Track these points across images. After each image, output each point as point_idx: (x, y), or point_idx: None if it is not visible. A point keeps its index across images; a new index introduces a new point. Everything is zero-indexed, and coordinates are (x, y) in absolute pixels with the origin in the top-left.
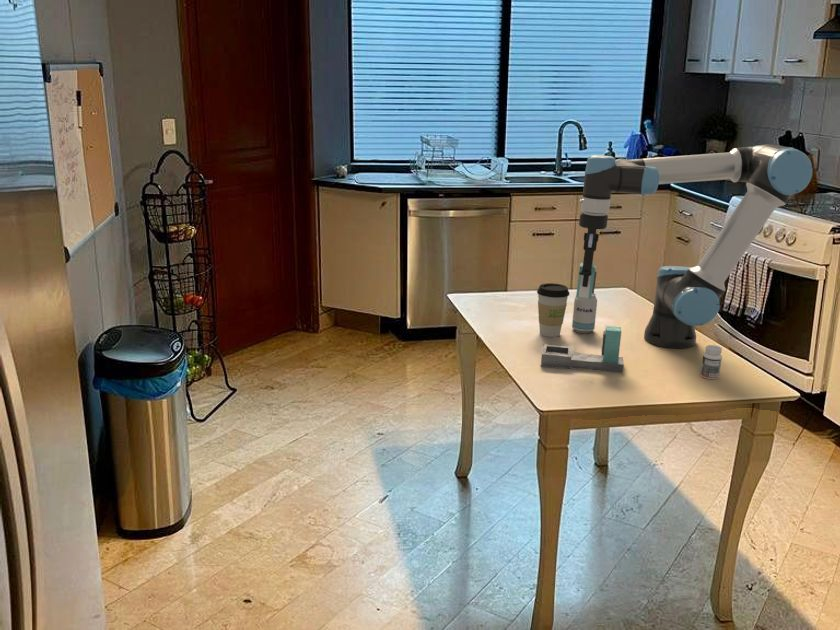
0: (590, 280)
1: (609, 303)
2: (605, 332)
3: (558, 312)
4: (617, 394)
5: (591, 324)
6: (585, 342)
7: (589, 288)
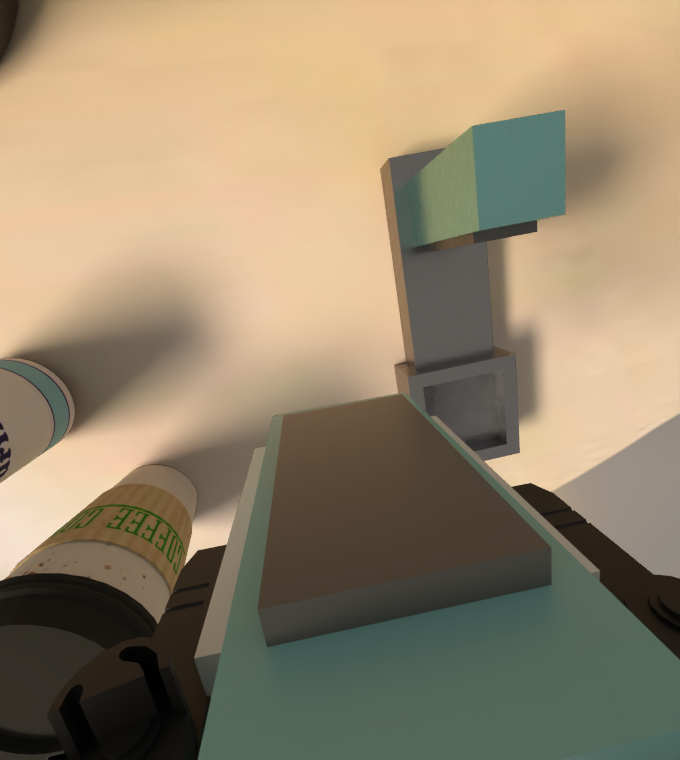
0: (536, 514)
1: None
2: (497, 228)
3: (156, 534)
4: (666, 147)
5: (22, 374)
6: (179, 358)
7: (476, 456)
